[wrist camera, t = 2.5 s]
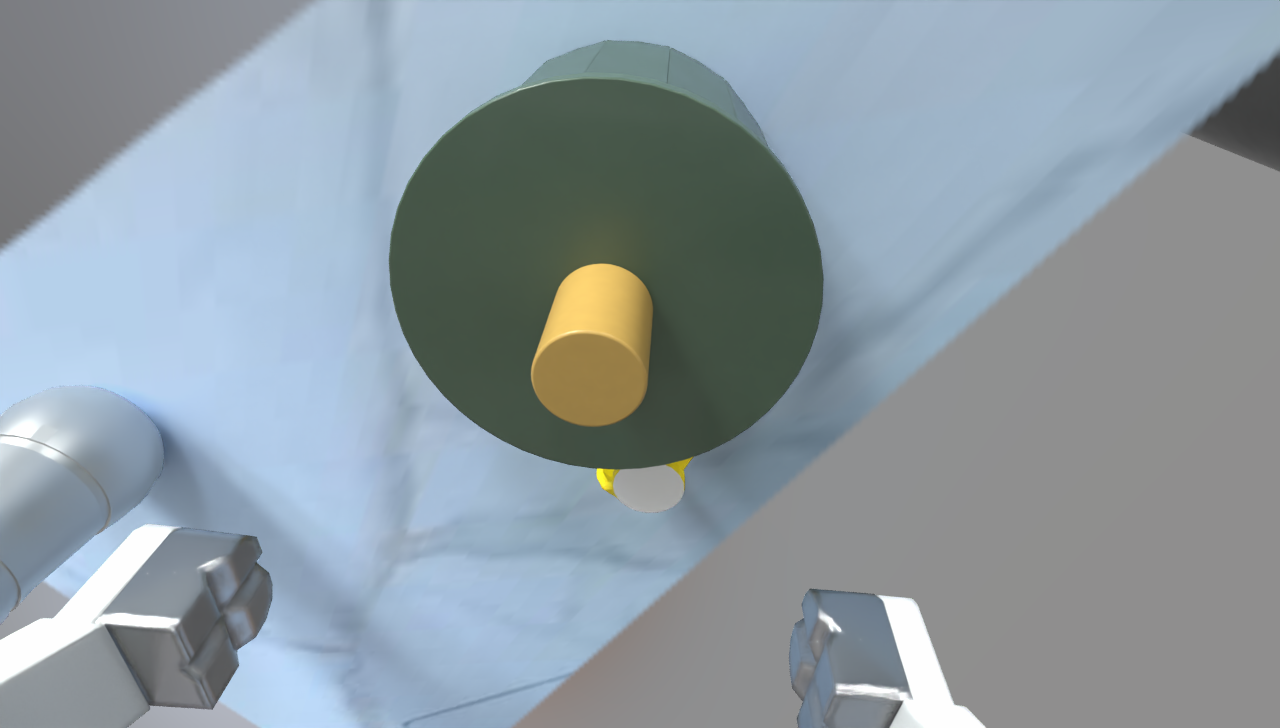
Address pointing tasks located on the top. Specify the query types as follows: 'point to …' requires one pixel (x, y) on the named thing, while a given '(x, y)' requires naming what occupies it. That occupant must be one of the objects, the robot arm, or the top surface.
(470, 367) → the tin lid
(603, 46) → the tin
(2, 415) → the plastic bottle
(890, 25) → the top surface
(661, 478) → the watch
